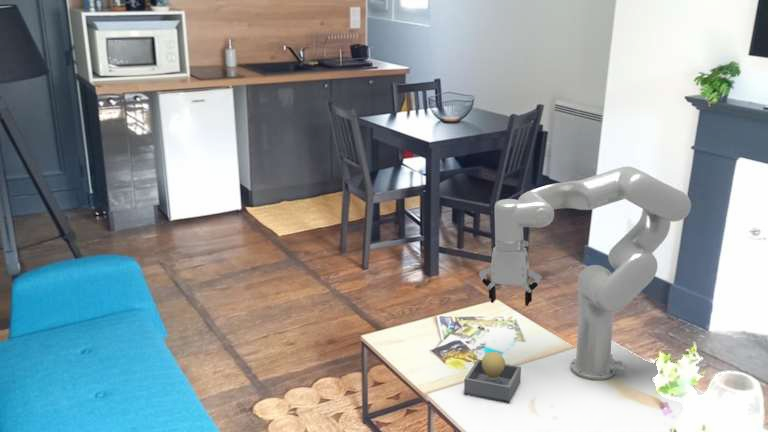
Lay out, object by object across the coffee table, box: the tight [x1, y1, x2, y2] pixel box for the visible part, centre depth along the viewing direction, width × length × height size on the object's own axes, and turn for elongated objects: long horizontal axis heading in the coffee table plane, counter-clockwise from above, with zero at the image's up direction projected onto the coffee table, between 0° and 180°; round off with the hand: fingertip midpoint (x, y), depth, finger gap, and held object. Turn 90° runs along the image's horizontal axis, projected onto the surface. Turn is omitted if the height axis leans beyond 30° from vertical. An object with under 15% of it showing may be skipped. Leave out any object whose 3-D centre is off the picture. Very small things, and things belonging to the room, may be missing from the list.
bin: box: [463, 359, 522, 404], centre depth 201 cm, size 13×13×5 cm
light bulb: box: [481, 351, 506, 384], centre depth 200 cm, size 6×6×10 cm
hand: (510, 302), depth 202 cm, fingers open, 9 cm apart
